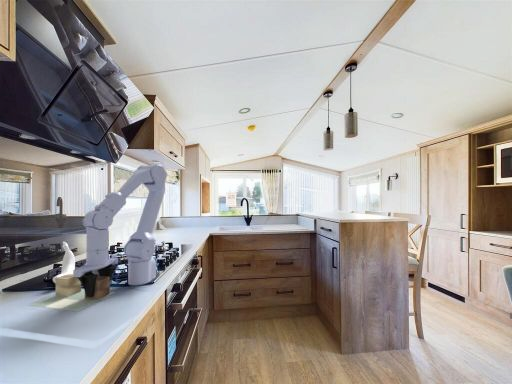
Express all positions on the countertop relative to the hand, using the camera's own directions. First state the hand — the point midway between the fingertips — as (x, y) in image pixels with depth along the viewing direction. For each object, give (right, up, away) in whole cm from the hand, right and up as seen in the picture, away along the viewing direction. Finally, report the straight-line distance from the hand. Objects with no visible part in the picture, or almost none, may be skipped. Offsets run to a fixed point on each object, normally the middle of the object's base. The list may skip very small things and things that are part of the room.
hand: (97, 293), depth 76 cm
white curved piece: (-21, -3, +14) cm, 25 cm away
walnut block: (0, -1, 0) cm, 1 cm away
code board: (-6, -2, -1) cm, 6 cm away
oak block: (-11, -1, +2) cm, 11 cm away
